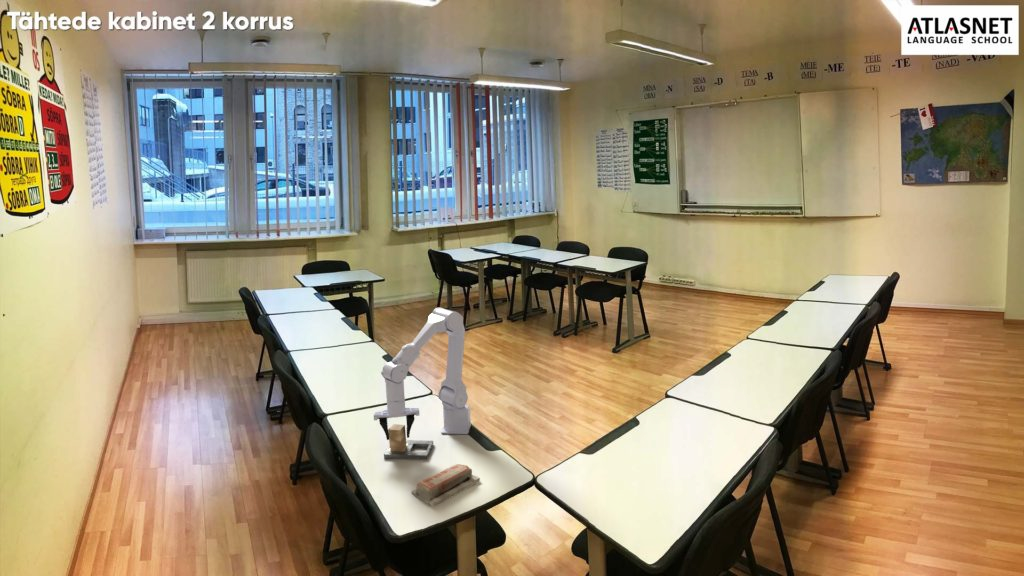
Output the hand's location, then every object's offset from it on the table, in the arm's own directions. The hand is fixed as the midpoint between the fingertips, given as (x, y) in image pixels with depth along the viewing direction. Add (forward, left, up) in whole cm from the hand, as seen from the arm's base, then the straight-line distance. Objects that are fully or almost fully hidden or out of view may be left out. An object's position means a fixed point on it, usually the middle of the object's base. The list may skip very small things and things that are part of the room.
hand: (398, 437), depth 194 cm
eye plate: (-3, 0, -5) cm, 6 cm away
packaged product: (-20, +21, -6) cm, 29 cm away
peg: (0, 0, -3) cm, 3 cm away
